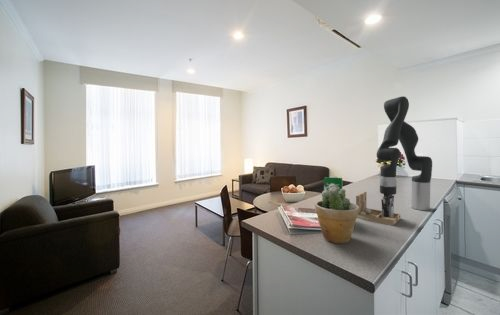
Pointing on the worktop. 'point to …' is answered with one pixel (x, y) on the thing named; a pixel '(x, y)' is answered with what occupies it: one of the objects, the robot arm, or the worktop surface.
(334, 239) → the potted plant
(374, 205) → the worktop surface
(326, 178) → the milk carton
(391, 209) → the gray rectangular block
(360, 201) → the divided box
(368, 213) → the pebble
